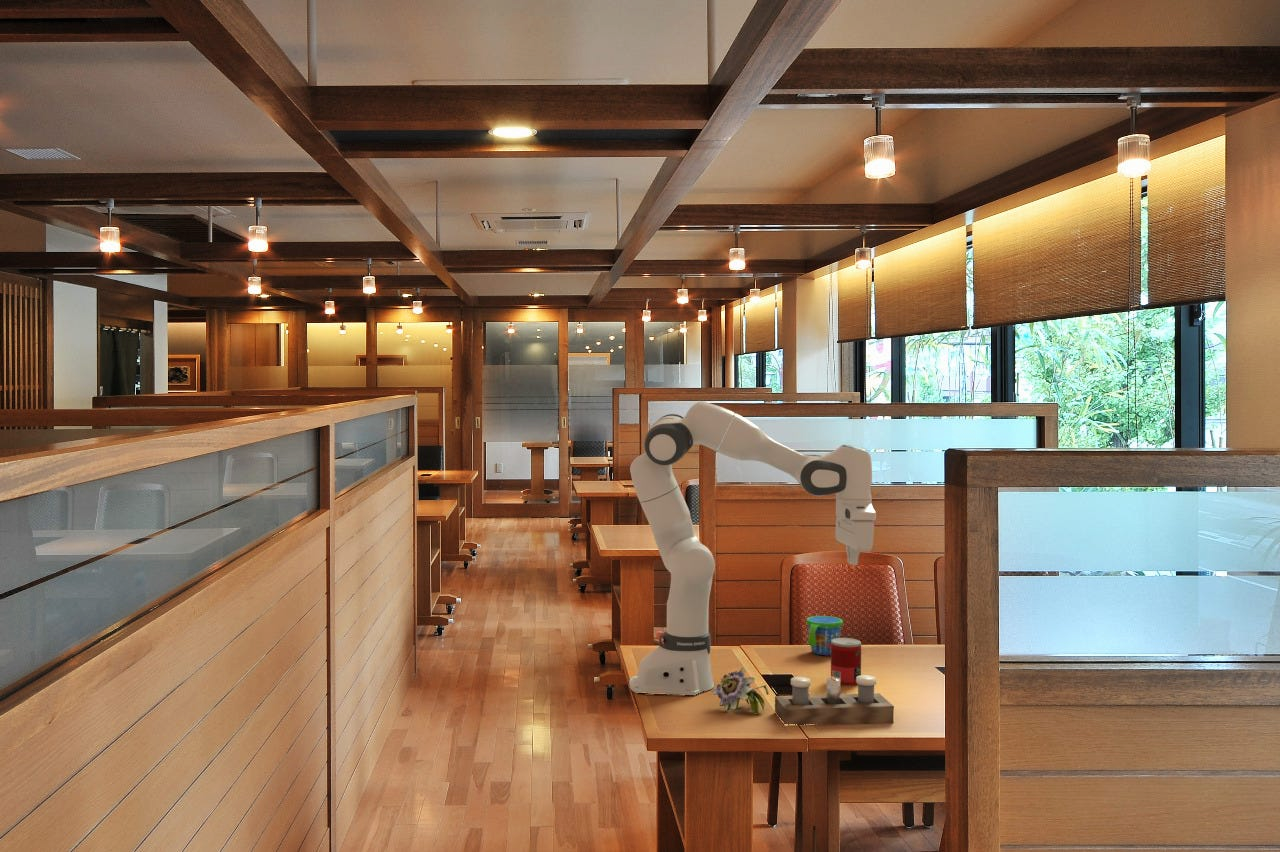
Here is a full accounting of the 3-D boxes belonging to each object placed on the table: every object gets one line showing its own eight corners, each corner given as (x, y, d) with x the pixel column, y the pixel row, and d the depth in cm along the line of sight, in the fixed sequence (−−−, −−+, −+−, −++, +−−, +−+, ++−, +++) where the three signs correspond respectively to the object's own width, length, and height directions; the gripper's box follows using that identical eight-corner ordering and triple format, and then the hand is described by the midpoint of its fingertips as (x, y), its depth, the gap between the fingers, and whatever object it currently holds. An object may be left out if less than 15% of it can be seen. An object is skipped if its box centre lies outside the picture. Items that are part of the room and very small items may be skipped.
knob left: (793, 721, 233) (793, 682, 233) (788, 715, 238) (788, 677, 237) (812, 720, 233) (812, 682, 233) (807, 714, 238) (807, 676, 238)
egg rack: (784, 726, 230) (784, 709, 230) (774, 712, 240) (775, 696, 240) (893, 722, 233) (893, 706, 232) (879, 709, 242) (879, 693, 242)
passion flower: (727, 733, 241) (700, 690, 244) (753, 714, 249) (727, 673, 252) (755, 717, 234) (727, 672, 237) (781, 698, 242) (754, 655, 245)
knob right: (859, 719, 235) (859, 680, 234) (853, 713, 239) (853, 675, 239) (878, 718, 235) (878, 680, 235) (872, 712, 240) (872, 675, 239)
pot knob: (828, 706, 234) (828, 680, 234) (824, 702, 238) (825, 676, 237) (841, 706, 235) (842, 679, 235) (837, 702, 238) (838, 676, 238)
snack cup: (825, 645, 305) (825, 612, 305) (854, 651, 298) (854, 618, 297) (794, 654, 294) (794, 620, 294) (823, 661, 287) (823, 626, 287)
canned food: (861, 686, 262) (861, 645, 261) (830, 684, 263) (830, 643, 263) (860, 678, 269) (861, 638, 269) (830, 676, 271) (831, 636, 271)
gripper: (829, 505, 260) (829, 557, 260) (853, 514, 240) (852, 571, 240) (853, 505, 260) (852, 557, 261) (878, 514, 240) (877, 571, 240)
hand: (852, 564), depth 250 cm, fingers closed
